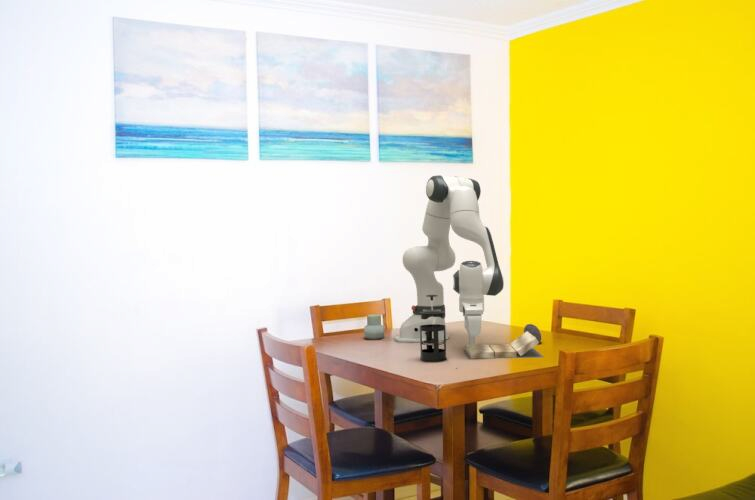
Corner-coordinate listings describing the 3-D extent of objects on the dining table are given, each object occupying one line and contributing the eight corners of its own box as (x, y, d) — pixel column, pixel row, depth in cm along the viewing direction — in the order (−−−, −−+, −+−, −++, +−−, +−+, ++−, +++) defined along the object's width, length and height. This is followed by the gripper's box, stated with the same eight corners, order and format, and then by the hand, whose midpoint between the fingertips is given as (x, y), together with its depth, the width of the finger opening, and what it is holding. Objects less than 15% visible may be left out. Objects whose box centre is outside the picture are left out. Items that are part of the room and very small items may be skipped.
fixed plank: (495, 357, 243) (495, 352, 243) (488, 349, 259) (488, 344, 259) (516, 357, 243) (516, 351, 243) (508, 349, 259) (508, 343, 259)
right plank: (530, 335, 259) (527, 331, 259) (539, 342, 243) (535, 337, 243) (512, 348, 259) (509, 343, 259) (520, 356, 243) (517, 351, 243)
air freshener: (383, 340, 294) (383, 316, 294) (364, 340, 294) (363, 317, 294) (384, 336, 305) (383, 313, 304) (365, 336, 305) (364, 313, 305)
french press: (450, 361, 243) (448, 295, 242) (424, 363, 241) (422, 296, 241) (441, 355, 255) (440, 292, 254) (416, 357, 253) (414, 293, 252)
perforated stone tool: (544, 346, 268) (544, 328, 267) (530, 347, 268) (530, 329, 267) (536, 340, 283) (535, 323, 282) (523, 340, 283) (522, 323, 282)
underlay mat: (468, 361, 243) (468, 359, 243) (463, 352, 261) (463, 349, 261) (544, 359, 242) (544, 357, 242) (533, 350, 260) (533, 348, 260)
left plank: (471, 358, 244) (471, 352, 244) (466, 350, 260) (466, 344, 260) (494, 357, 244) (494, 352, 243) (487, 349, 259) (487, 344, 259)
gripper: (460, 303, 262) (460, 340, 262) (465, 310, 241) (465, 350, 242) (477, 302, 261) (477, 339, 262) (483, 310, 241) (484, 350, 242)
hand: (472, 344), depth 252 cm, fingers closed
